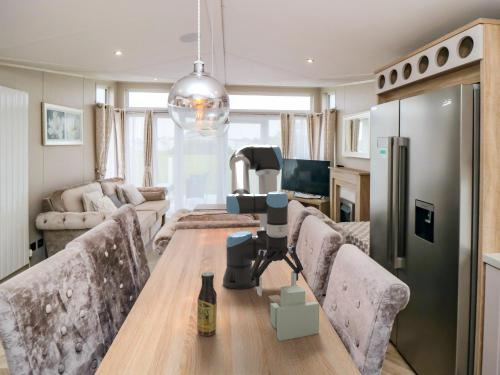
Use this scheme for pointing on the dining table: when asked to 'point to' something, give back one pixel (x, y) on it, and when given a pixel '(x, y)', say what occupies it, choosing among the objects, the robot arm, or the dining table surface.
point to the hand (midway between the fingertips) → (276, 291)
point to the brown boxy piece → (274, 300)
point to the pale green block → (294, 314)
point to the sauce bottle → (207, 306)
